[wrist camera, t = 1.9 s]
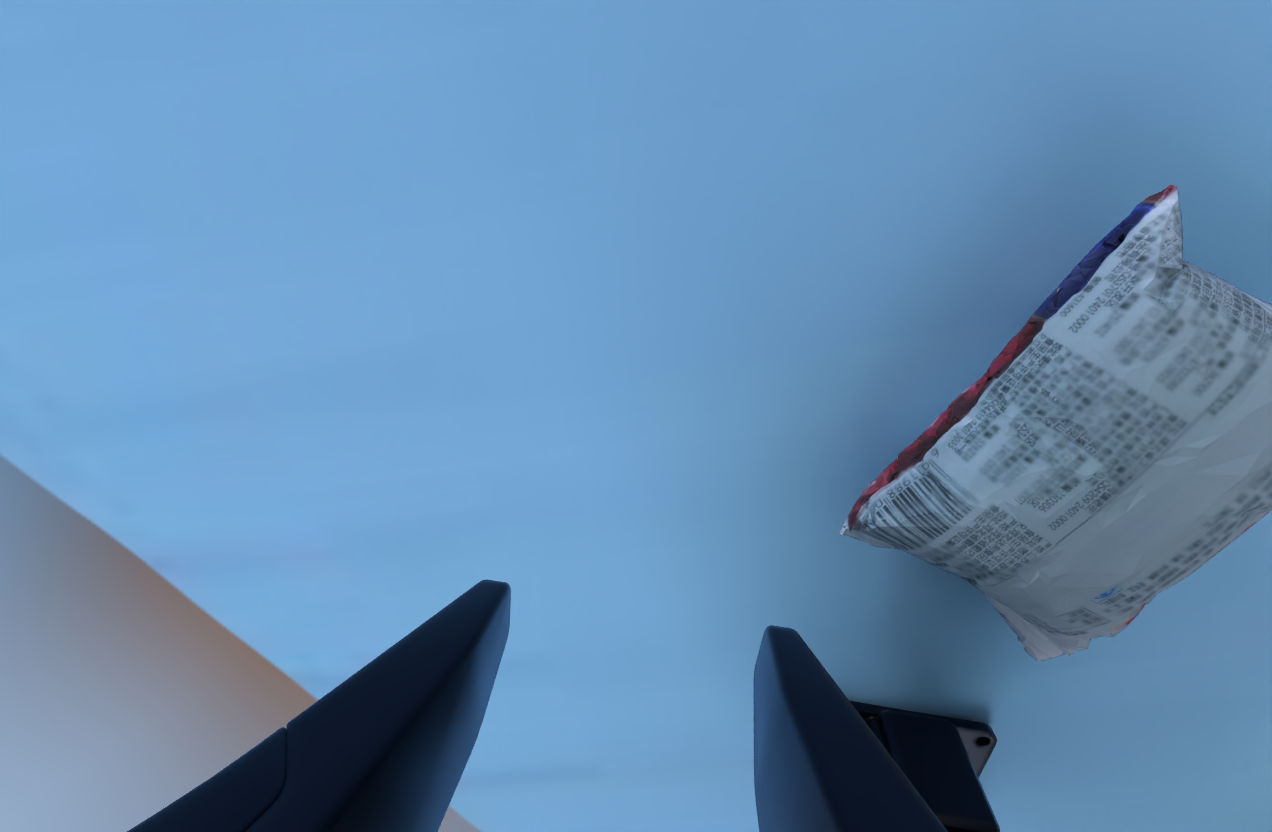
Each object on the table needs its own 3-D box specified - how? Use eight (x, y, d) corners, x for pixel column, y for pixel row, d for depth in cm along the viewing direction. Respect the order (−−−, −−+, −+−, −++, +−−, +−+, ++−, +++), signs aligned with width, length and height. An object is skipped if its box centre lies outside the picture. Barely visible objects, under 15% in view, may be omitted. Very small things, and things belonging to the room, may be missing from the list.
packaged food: (1341, 352, 17) (1569, 425, 12) (1012, 620, 22) (1090, 744, 17) (1104, 172, 16) (1258, 180, 11) (812, 495, 21) (839, 591, 16)
